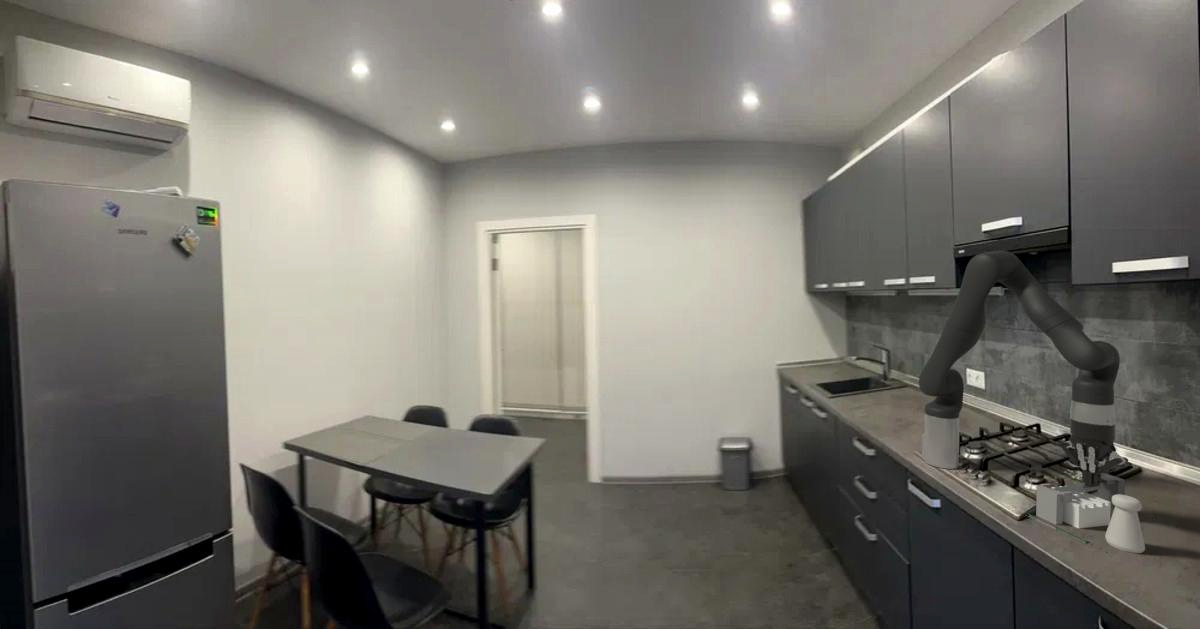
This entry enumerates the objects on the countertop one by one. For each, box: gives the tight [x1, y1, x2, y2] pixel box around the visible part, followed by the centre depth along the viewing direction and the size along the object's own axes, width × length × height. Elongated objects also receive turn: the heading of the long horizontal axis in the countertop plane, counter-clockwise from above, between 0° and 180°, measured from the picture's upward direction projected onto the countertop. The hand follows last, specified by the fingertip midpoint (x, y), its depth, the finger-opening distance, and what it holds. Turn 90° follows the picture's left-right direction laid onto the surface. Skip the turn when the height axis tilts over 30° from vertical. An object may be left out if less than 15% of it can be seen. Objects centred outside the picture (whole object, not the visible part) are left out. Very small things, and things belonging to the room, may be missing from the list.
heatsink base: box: [1012, 483, 1111, 545], centre depth 109 cm, size 16×21×10 cm
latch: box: [1097, 473, 1126, 516], centre depth 110 cm, size 4×5×10 cm
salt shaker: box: [1104, 494, 1146, 554], centre depth 96 cm, size 6×6×13 cm
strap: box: [1048, 482, 1102, 495], centre depth 108 cm, size 3×13×1 cm, turn 96°
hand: (1091, 484), depth 109 cm, fingers closed
